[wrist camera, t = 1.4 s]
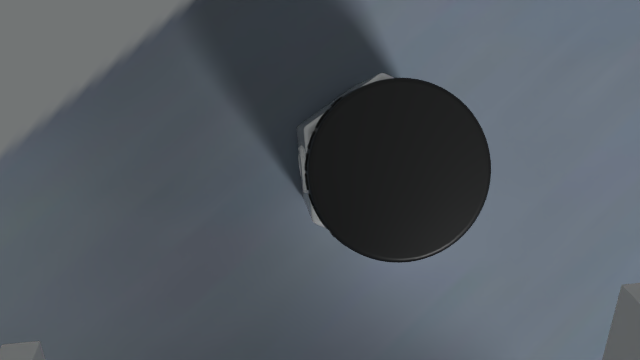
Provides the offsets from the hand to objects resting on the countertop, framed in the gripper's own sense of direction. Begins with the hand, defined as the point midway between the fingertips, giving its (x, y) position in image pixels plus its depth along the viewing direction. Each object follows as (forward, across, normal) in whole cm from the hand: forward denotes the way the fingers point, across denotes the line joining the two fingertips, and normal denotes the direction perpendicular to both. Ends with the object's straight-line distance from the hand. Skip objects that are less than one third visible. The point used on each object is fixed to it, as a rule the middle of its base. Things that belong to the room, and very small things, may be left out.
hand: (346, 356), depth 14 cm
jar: (+24, -5, +6) cm, 25 cm away
